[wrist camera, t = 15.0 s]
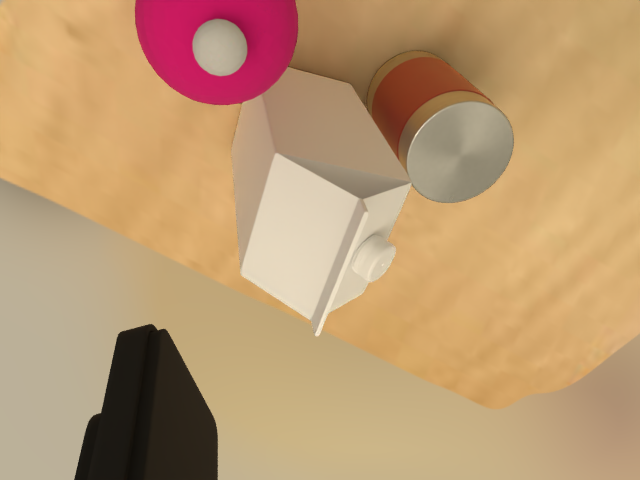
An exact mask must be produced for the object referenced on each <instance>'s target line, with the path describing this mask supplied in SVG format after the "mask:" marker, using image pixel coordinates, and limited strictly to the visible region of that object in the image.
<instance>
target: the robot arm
mask: <svg viewBox="0 0 640 480" xmlns="http://www.w3.org/2000/svg"><path fill="white" fill-rule="evenodd" d="M217 456H218V435H217V427H216V423H215V420H214V417H213V415H212V413H211V411H210V409H209V408H208V406H207V404H206V402H205V400H204V398H203V396H202V394H201V393H200V391H199V389H198V387H197V385H196V383H195V381H194V380H193V378H192V376H191V374H190V372H189V370H188V368H187V367H186V365H185V363H184V361H183V359H182V357H181V355H180V353H179V352H178V350H177V348H176V346H175V344H174V342H173V340H172V339H171V337H170V335H169V333H168V331H167V330H166V329H161V330H157V329H156V327H155V326H154V325H152V324H149V325H145V326H141V327H137V328H134V329H130V330H126V331H122V332H120V333H119V334H118V337H117V341H116V346H115V350H114V355H113V360H112V364H111V369H110V374H109V379H108V383H107V388H106V393H105V398H104V403H103V407H102V412H101V413H100V414H96V415H94V416H93V417H92V418H91V419H90V421H89V423H88V425H87V428H86V432H85V436H84V440H83V444H82V449H81V453H80V457H79V462H78V466H77V470H76V475H75V479H74V480H218V479H217V477H218V472H217V471H218V470H217V468H218V460H217V459H218V457H217Z"/></svg>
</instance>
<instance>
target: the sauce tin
mask: <svg viewBox="0 0 640 480" xmlns="http://www.w3.org/2000/svg"><path fill="white" fill-rule="evenodd" d="M367 108H368V112H369V114H370V116H371V117H372V119H373V120H374V122H375V124H376V125H377V127H378V128H379V130H380V132H381V133H382V135H383V136H384V138H385V139H386V141H387V143H388V144H389V146H390V147H391V149H392V151H393V152H394V154H395V155H396V157H397V159H398V160H399V162H400V163H401V165H402V166H403V168H404V170H405V171H406V173H407V174H408V176H409V178H410V180H411V181H412V186H413V187H414V188H415V190H416V191H417V192H418V193H420V194H421V195H422V196H424V197H425V198H427V199H430V200H432V201H436V202H441V203H455V202H461V201H465V200H468V199H471V198H473V197H475V196H477V195H479V194H481V193H482V192H484V191H485V190H487V189H488V188H489V187H490V186H492V185H493V184H494V183H495V182H496V181H497V180H498V178H499V177H500V176H501V175H502V173H503V172H504V170H505V169H506V167H507V165H508V163H509V161H510V158H511V155H512V151H513V144H514V138H513V131H512V127H511V124H510V122H509V120H508V119H507V117H506V116H505V115H504V113H503V112H502V111H501V110H499V109H498V108H497V107H496V106H495V105H494V104H493V103H492V102H491V100H490V99H488V98H487V97H486V96H485V95H484V94H483V93H481V92H480V91H479V90H478V89H477V88H476V87H474V86H473V85H472V84H471V83H470V82H469V81H467V80H466V79H465V78H464V77H463V76H462V75H461V74H459V73H458V72H457V71H456V70H455V69H454V68H452V67H451V66H450V65H449V64H447V63H446V62H444V61H443V60H442V59H440V58H439V57H438V56H436V55H434V54H432V53H429V52H425V51H410V52H405V53H402V54H399V55H397V56H395V57H393V58H392V59H390V60H389V61H387V62H386V63H385V64H384V65H383V66H382V67H381V68H380V69H379V70H378V72H377V73H376V74H375V76H374V78H373V79H372V81H371V84H370V86H369V90H368V95H367Z"/></svg>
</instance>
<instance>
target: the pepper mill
mask: <svg viewBox="0 0 640 480" xmlns="http://www.w3.org/2000/svg"><path fill="white" fill-rule="evenodd" d="M135 24H136V28H137V33H138V38H139V42H140V44H141V47H142V50H143V52H144V54H145V56H146V58H147V60H148V62H149V63H150V65H151V66H152V67H153V69H154V70H155V72H156V73H157V74H158V75H159V76H160V77H161V78H162V79H163V80H164V81H165V82H166V83H167V84H168V85H169V86H170V87H171V88H173V89H174V90H176V91H177V92H179V93H180V94H182V95H184V96H186V97H188V98H190V99H192V100H195V101H198V102H202V103H207V104H213V105H230V104H237V103H242V102H245V101H248V100H251V99H254V98H255V97H257V96H259V95H261V94H262V93H264V92H266V91H267V90H268V89H269V88H270V87H271V86H273V85H274V84H275V83H276V82H277V81H278V80H279V78H280V77H281V76H282V74H283V73H284V72H285V71H286V69H287V67H288V65H289V63H290V61H291V59H292V56H293V53H294V49H295V46H296V42H297V35H298V13H297V8H296V2H295V0H136V4H135Z"/></svg>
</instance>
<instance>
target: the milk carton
mask: <svg viewBox="0 0 640 480" xmlns="http://www.w3.org/2000/svg"><path fill="white" fill-rule="evenodd" d="M231 156H232V169H233V182H234V195H235V208H236V221H237V234H238V247H239V260H240V273H241V275H242V276H243V277H245V278H246V279H248V280H249V281H251V282H252V283H254V284H255V285H257V286H258V287H260V288H261V289H263V290H264V291H266V292H268V293H269V294H271V295H272V296H274V297H275V298H277V299H278V300H280V301H281V302H283V303H284V304H286V305H287V306H289V307H291V308H292V309H294V310H295V311H297V312H298V313H300V314H301V315H303V316H304V317H306V318H307V319H309V320H310V321H311V322H312V327H313V331H314V335H315V336H319V334H320V332H321V330H322V327H323V325H324V322H325V320H326V317H327V315H328V313H330V312H332V311H334V310H335V309H337V308H339V307H340V306H342V305H344V304H346V303H347V302H349V301H351V300H353V299H354V298H356V297H358V296H359V295H361V294H363V292H364V291H365V289H366V287H367V285H368V282H373V281H375V280H377V279H378V278H380V277H381V276H382V275H383V274H384V273H385V272H386V270H387V269H388V267H389V266H390V264H391V262H392V260H393V258H394V256H395V252H396V247H395V246H394V245H393V244H391V243H390V242H388V241H387V240H388V237H389V235H390V233H391V231H392V228H393V226H394V224H395V222H396V219H397V217H398V215H399V213H400V210H401V208H402V206H403V204H404V201H405V199H406V197H407V194H408V192H409V190H410V187H411V185H412V181H411V180H410V178H409V176H408V174H407V173H406V171H405V170H404V168H403V166H402V165H401V163H400V162H399V160H398V159H397V157H396V155H395V154H394V152H393V151H392V149H391V147H390V146H389V144H388V143H387V141H386V139H385V138H384V136H383V135H382V133H381V132H380V130H379V128H378V127H377V125H376V124H375V122H374V120H373V119H372V117H371V116H370V114H369V113H368V111H367V109H366V108H365V106H364V105H363V103H362V101H361V100H360V98H359V97H358V95H357V93H356V92H355V90H354V89H353V87H352V86H351V84H349V83H346V82H342V81H338V80H335V79H331V78H327V77H323V76H320V75H316V74H312V73H308V72H305V71H301V70H297V69H293V68H290V67H287V69H286V71H285V72H284V73H283V74H282V76H281V77H280V78H279V80H278V81H277V82H276V83H275V84H274V85H273V86H271V87H270V88H269V89H268V90H267V91H266V92H264V93H262V94H261V95H259V96H257V97H255V98H254V99H251V100H248V101H245V102H243V103H242V107H241V111H240V115H239V119H238V123H237V127H236V131H235V135H234V139H233V144H232V149H231Z"/></svg>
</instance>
